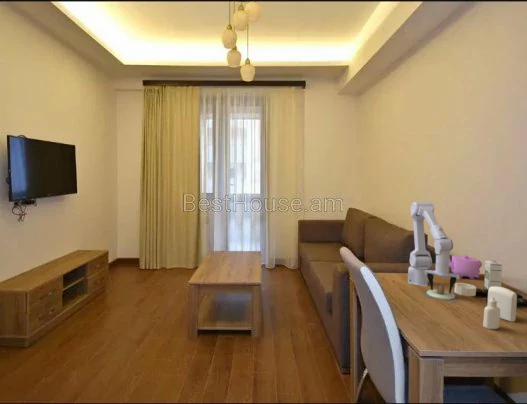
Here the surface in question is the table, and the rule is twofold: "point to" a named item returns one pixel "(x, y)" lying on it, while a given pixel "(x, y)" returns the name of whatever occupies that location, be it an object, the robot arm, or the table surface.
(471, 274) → the teapot
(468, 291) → the bowl
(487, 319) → the eye dropper bottle
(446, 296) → the lid
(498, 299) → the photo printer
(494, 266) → the syrup box
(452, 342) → the table surface
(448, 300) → the mat
